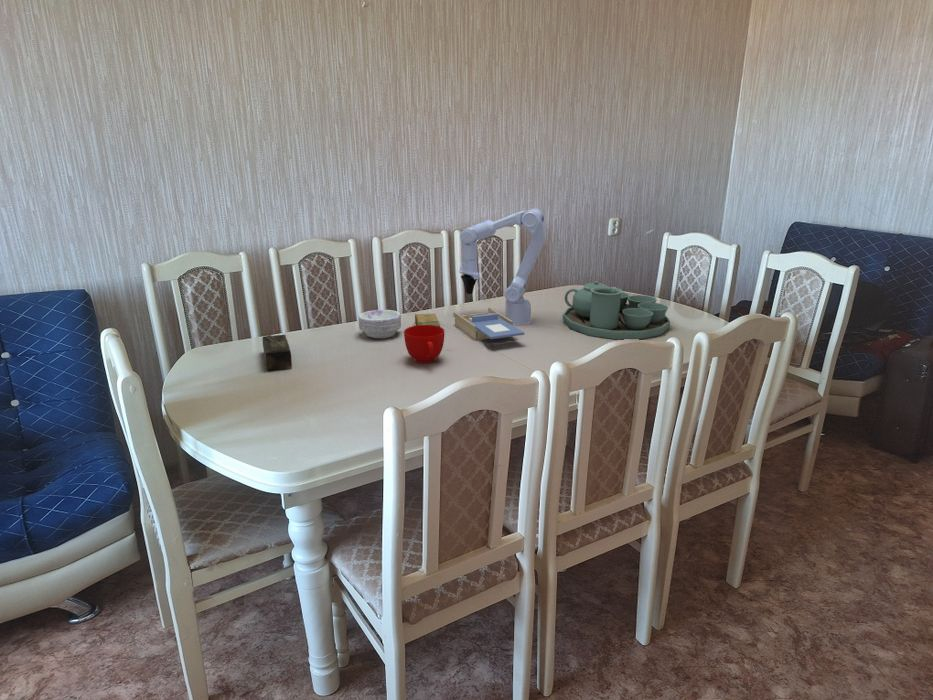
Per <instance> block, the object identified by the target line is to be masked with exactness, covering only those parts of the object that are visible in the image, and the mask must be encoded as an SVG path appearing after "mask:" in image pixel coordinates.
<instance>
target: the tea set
mask: <svg viewBox="0 0 933 700" xmlns="http://www.w3.org/2000/svg"><path fill="white" fill-rule="evenodd" d="M572 292H574V294H573V295H572V303H570V301H568V295H569V294H570V293H572ZM564 302H565V303H566V306H568V307H567V309H566V310H565V311H564V312H563V314H562V321H563V323H564V324H565V325H566V326H567V327H568V328H569V329H570V330H573V331H576V332H578V333H581V334H583V335H587V336H590V337H597V338H602V339H603V338H604V339H609V340H610V339H612V340H642V339H648V338H652V337H659V336H661V335H662V334H664V333H665V332H666V331H667V330H668V329H669V327H670V325H671V321H670V320H669V318H668V317H667V316H668V315H666V313H667V312H668V309H669V307H668V305H666V304H663V303H659V302H657V298H656V297H653V296H651V295H650V296H649V295H645V294H643V295H642V294H641V295H640V294H637V295H635V294H633V295H629V293H627V292H624V291H623V290H622V289H621V288H617V286H608V285H607V284H606V283H601V282H599V281H598V280H597V281H595V280H594V282H588V283H585V284H584V285H583V288H580V289H576V288H571V289H568V290H567V292H566V293H565V294H564ZM627 302H628V303H627Z"/></svg>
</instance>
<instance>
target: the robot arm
mask: <svg viewBox="0 0 933 700" xmlns="http://www.w3.org/2000/svg"><path fill="white" fill-rule="evenodd" d="M514 224H515V225H518V226H522V225H523V227H524V228H525V229H526V230H527V231H528V232H529V236H530V237H531V241H530V242H529V245H528V247H527V249H526V251H525V254H524V256H523V258H522V260H521V263H520V265H519V267H518V270H517V272H516V274H515V276H514V277H513V280H512V281H511V284H510V285H509V286H508V287H507V288H506V289H505V291H504V298H505V311H504V312H505V315H504V316H505V317H506V318H508V319H510V320H512V321H513V326H517V325H526V324H528V325H529V324H530V325H531V324H532V321H531V317H532V316H531V315H532V305H531V302H530V301H529V300H528V299H525V298H524V295H525V294H526V285H527V283H528V281H529V277H530V275H531V273H532V271H533V268H534V266H535V264H536V262H537V259H538V257H539V255H540V253H541V251H542V249H543V246H544V245H545V242H546V240H547V237H548V236H547V227H546V218H545V216H544V214H543V212H542V211H541V209H539V208H536V207H532V208H531V209H529V210H528V209H527V210H522V211H518V212H515V213H513V214H510V215H508V216H504V217H503V218H500V219H498V220H496V221H492V220H491V219H483V220H482V221H481V222H479V223H477V224H471V225H470V226H469V227H466V228H464V229H463V230H461V232H460V234H459V238H460V241H461V266H460V267H459V271H458V273H459V274H464V275H460V278H461V280H462V282H463V285H464V286H463V287H464V289H465V294H467V295H471V294H473V292H474V288H475V285H476V283H477V281H478V280H480V273H479V272H478V267H477V266H478V256H477V255H478V245H477V244H478V243H477V241H480V240H483V239H485V238H488V237H491V236H494V235H495V234H496V231H497V230H500V229H502V228H506V227H509V226H511V225H514Z"/></svg>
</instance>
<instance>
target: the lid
mask: <svg viewBox="0 0 933 700" xmlns="http://www.w3.org/2000/svg"><path fill="white" fill-rule="evenodd" d="M469 322H471V323H472V324H474V325H475V326H476V329H477V330H478V331H479V332H481V333H482V334H484V335H485V336H487V337H488V338H490V340H495V339H504V338H509V337H516V336H517V337H518V336H524V335H525V332H524V331H523V330H522V329H520V328H517V327H516V326H515V325H511V324H509V323H508V322H506V321H504V320H503V319H501V318H499V317H498V314H497V313H493V314H484V315H476V316H472V321H469Z"/></svg>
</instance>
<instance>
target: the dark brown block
mask: <svg viewBox="0 0 933 700" xmlns="http://www.w3.org/2000/svg"><path fill="white" fill-rule="evenodd" d="M261 339H262V347H263V356H264V364H265V369H266V372H272V371H273V372H274V371H283V370H291V369H292V368H293V362H292V353H291V348H290V345H289V341H288V339H287V336H286V335H285V334H278V335H272V334H267V335H264V336H262V338H261Z"/></svg>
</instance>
